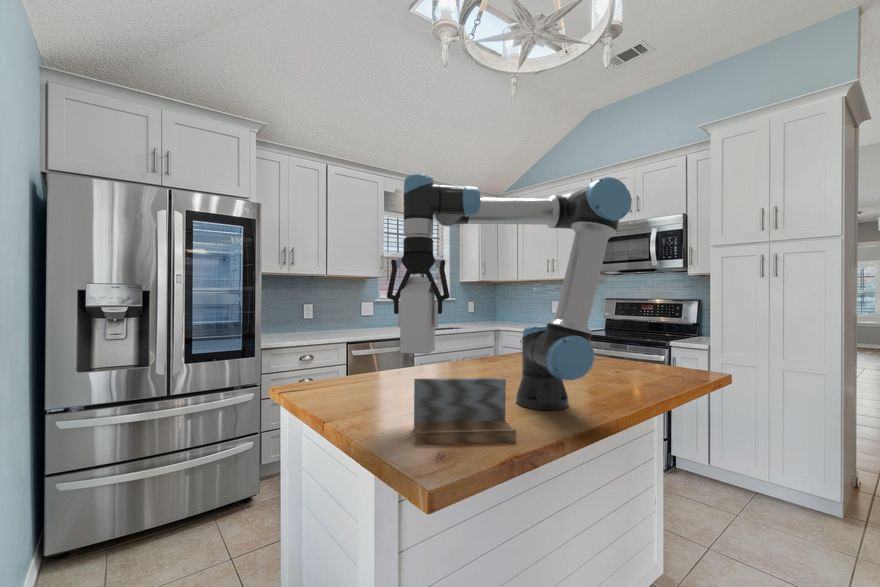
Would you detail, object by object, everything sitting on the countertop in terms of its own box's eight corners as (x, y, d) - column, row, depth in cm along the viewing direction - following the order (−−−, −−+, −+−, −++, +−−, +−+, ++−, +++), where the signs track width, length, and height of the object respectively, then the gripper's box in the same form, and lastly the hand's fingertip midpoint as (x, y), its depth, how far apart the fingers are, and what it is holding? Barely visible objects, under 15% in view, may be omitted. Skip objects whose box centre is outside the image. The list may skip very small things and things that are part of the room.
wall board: (503, 426, 101) (503, 377, 101) (515, 442, 90) (516, 387, 90) (413, 428, 99) (414, 378, 99) (415, 445, 88) (416, 389, 88)
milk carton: (427, 354, 100) (427, 276, 100) (400, 353, 101) (400, 276, 101) (434, 350, 107) (435, 277, 107) (408, 349, 108) (409, 277, 108)
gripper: (458, 240, 109) (458, 325, 108) (377, 239, 107) (377, 326, 107) (461, 236, 101) (461, 328, 101) (374, 235, 100) (374, 328, 100)
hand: (418, 327), depth 104 cm, fingers closed on milk carton, 8 cm apart
